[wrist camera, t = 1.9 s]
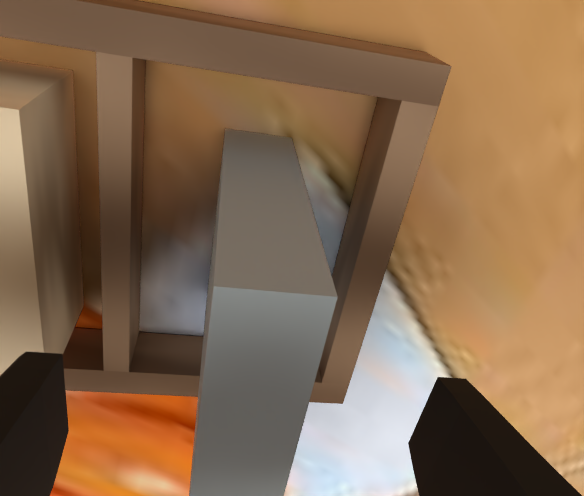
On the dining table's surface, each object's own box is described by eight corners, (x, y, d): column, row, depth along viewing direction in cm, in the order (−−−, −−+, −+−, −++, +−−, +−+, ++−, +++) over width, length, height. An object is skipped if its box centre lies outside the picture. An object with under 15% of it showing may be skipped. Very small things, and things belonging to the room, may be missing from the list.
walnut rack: (333, 364, 20) (342, 403, 18) (-178, 333, 17) (-224, 376, 15) (425, 51, 14) (451, 66, 12) (-341, -86, 11) (-450, -93, 9)
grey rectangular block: (263, 297, 18) (278, 512, 11) (207, 292, 17) (188, 511, 11) (291, 137, 15) (338, 296, 8) (225, 128, 14) (213, 286, 8)
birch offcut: (85, 303, 17) (47, 389, 14) (23, 298, 17) (-30, 385, 14) (74, 69, 13) (18, 110, 10) (-6, 57, 13) (-91, 94, 10)
